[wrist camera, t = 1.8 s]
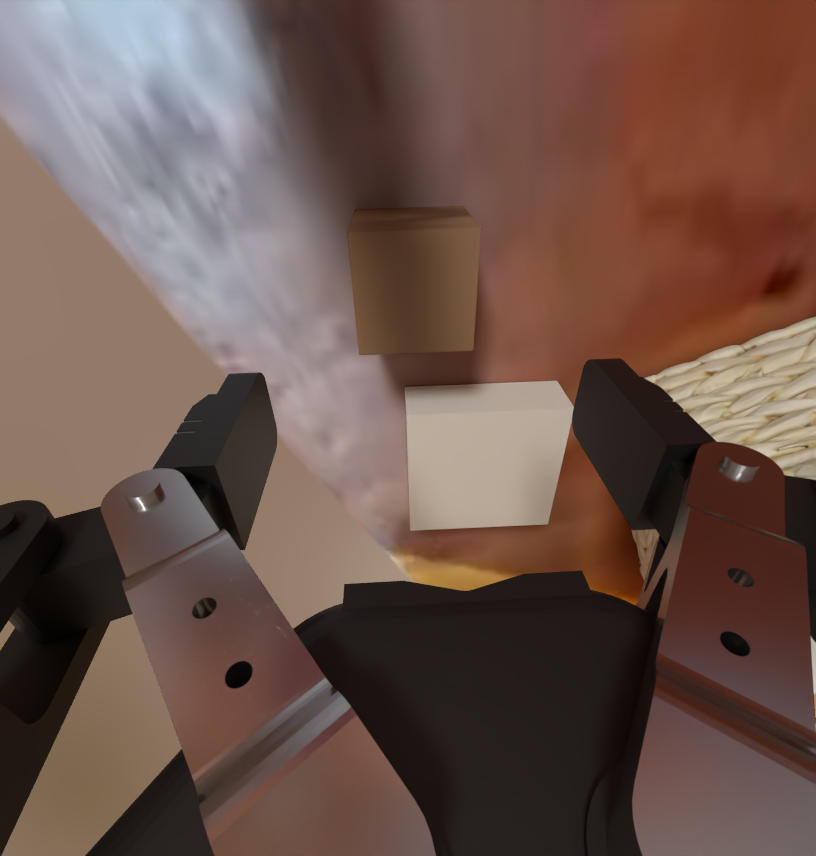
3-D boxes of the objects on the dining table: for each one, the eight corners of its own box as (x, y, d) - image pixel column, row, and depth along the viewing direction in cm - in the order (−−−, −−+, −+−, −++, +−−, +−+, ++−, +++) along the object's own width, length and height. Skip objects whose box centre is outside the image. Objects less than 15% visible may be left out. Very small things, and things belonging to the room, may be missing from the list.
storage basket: (830, 542, 36) (1052, 756, 24) (628, 594, 39) (734, 806, 27) (892, 264, 23) (1445, 429, 11) (581, 376, 26) (746, 598, 14)
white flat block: (556, 380, 26) (574, 408, 24) (535, 492, 31) (547, 524, 29) (404, 386, 26) (406, 415, 24) (408, 498, 31) (410, 530, 29)
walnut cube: (462, 205, 21) (481, 228, 17) (458, 309, 24) (473, 350, 19) (355, 209, 21) (347, 232, 16) (364, 313, 23) (359, 355, 19)
